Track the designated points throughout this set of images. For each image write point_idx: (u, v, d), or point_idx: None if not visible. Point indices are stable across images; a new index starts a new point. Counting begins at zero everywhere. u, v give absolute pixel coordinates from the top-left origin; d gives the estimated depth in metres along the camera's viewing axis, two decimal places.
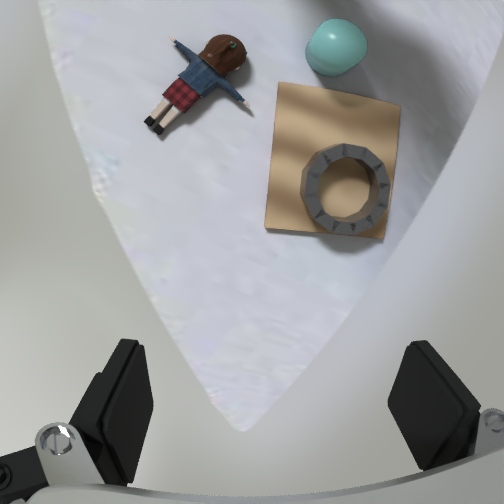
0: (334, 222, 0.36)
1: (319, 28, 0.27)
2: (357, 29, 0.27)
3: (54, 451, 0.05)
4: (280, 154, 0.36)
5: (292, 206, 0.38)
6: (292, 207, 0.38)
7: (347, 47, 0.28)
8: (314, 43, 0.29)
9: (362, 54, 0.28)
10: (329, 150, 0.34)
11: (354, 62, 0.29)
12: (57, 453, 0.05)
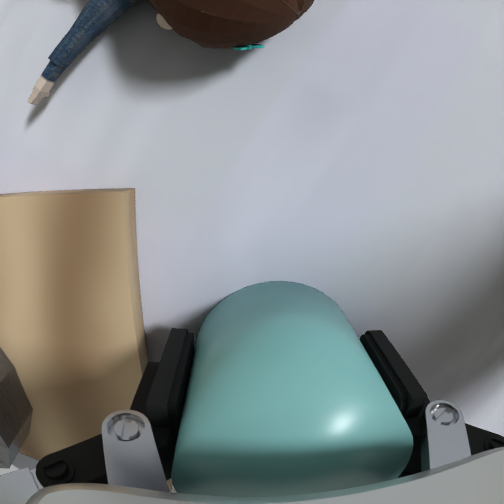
0: None
1: (366, 413, 0.05)
2: None
3: (120, 437, 0.06)
4: None
5: None
6: None
7: None
8: (277, 380, 0.06)
9: None
10: None
11: None
12: (123, 439, 0.06)
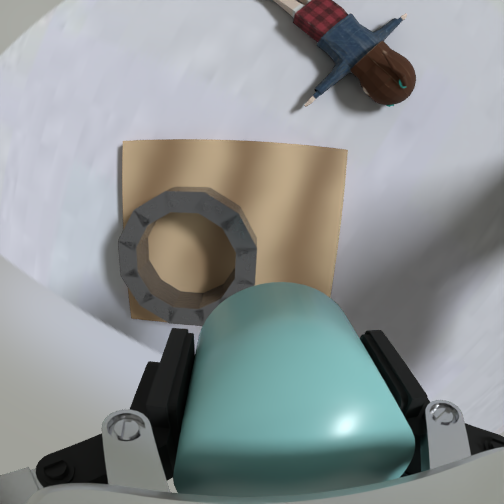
0: (133, 243, 0.23)
1: (369, 414, 0.05)
2: None
3: (120, 437, 0.06)
4: (232, 152, 0.24)
5: (154, 178, 0.24)
6: (153, 178, 0.24)
7: None
8: (280, 381, 0.06)
9: None
10: (242, 226, 0.22)
11: None
12: (123, 439, 0.06)
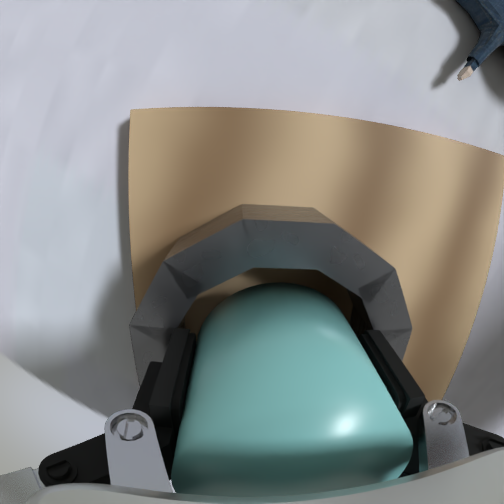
0: (164, 330, 0.11)
1: (366, 415, 0.05)
2: None
3: (123, 436, 0.06)
4: (356, 142, 0.12)
5: (198, 186, 0.12)
6: (196, 185, 0.12)
7: None
8: (277, 382, 0.06)
9: None
10: (398, 291, 0.10)
11: None
12: (126, 439, 0.06)
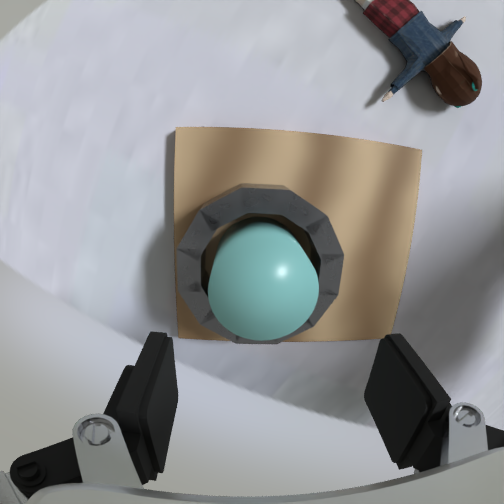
0: (197, 251, 0.19)
1: (287, 246, 0.16)
2: (298, 322, 0.18)
3: (91, 442, 0.05)
4: (309, 146, 0.21)
5: (216, 172, 0.21)
6: (215, 172, 0.21)
7: (251, 303, 0.17)
8: (253, 236, 0.17)
9: (242, 331, 0.18)
10: (330, 229, 0.19)
11: (219, 317, 0.17)
12: (94, 444, 0.06)
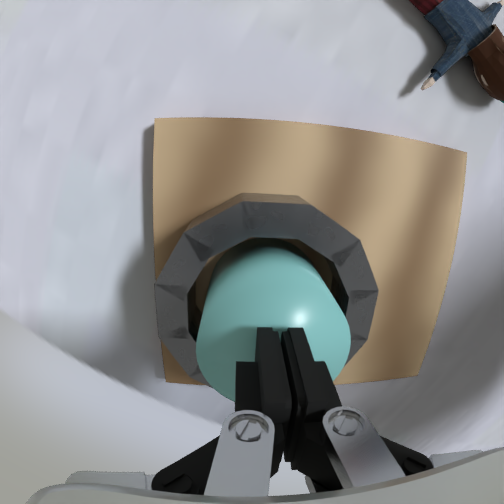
0: (181, 288, 0.14)
1: (310, 291, 0.11)
2: None
3: (239, 436, 0.06)
4: (332, 144, 0.15)
5: (208, 178, 0.16)
6: (206, 178, 0.16)
7: None
8: (260, 274, 0.12)
9: None
10: (363, 258, 0.14)
11: (213, 382, 0.12)
12: (241, 438, 0.07)
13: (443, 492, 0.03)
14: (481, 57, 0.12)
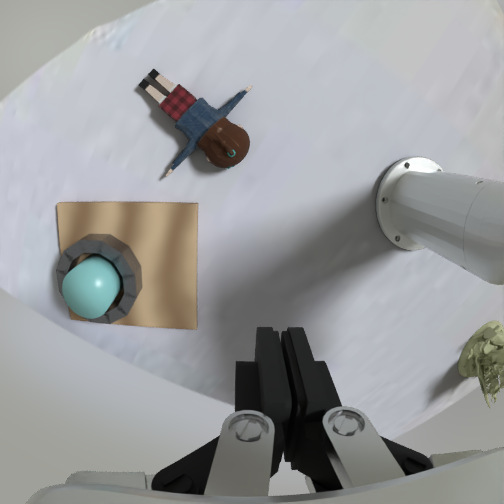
0: (64, 271, 0.33)
1: (90, 272, 0.30)
2: (103, 310, 0.32)
3: (239, 436, 0.06)
4: (121, 211, 0.35)
5: (77, 228, 0.35)
6: (76, 228, 0.35)
7: (80, 299, 0.31)
8: (79, 266, 0.31)
9: (79, 313, 0.32)
10: (125, 261, 0.33)
11: (69, 305, 0.31)
12: (241, 439, 0.07)
13: (443, 492, 0.03)
14: (203, 147, 0.32)
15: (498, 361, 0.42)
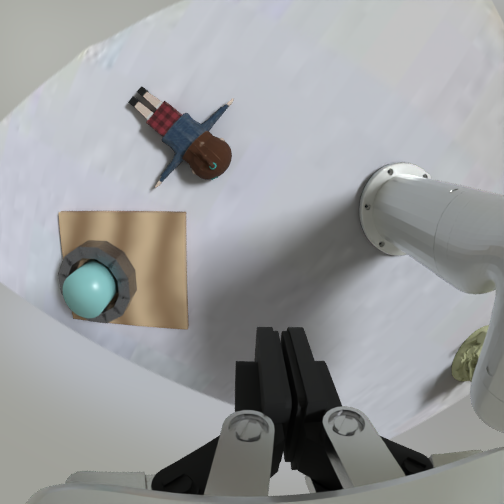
0: (65, 275, 0.36)
1: (86, 276, 0.33)
2: (99, 310, 0.35)
3: (239, 436, 0.06)
4: (116, 219, 0.38)
5: (77, 235, 0.38)
6: (76, 235, 0.38)
7: (79, 300, 0.34)
8: (77, 270, 0.34)
9: (78, 313, 0.35)
10: (118, 266, 0.36)
11: (69, 306, 0.35)
12: (241, 438, 0.07)
13: (443, 492, 0.03)
14: (187, 160, 0.35)
15: None
